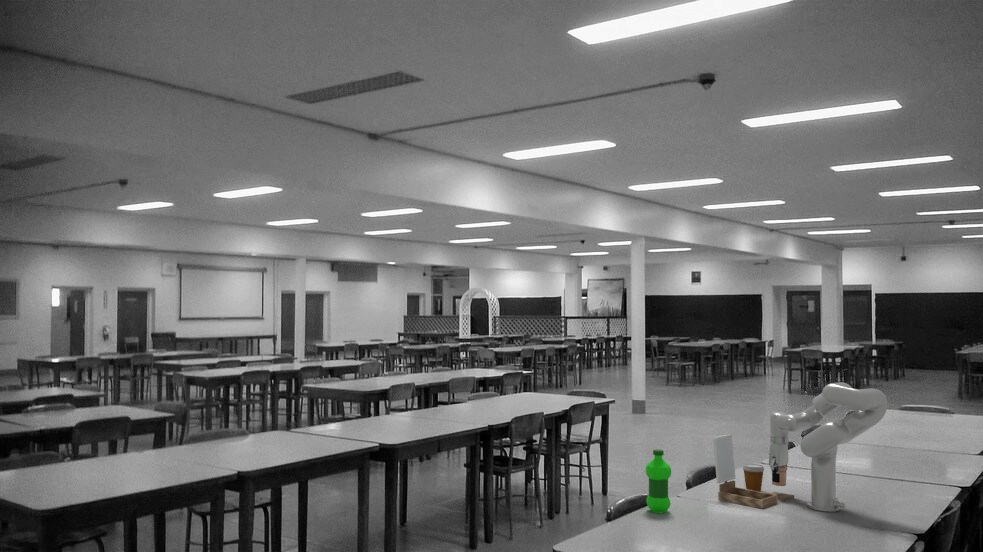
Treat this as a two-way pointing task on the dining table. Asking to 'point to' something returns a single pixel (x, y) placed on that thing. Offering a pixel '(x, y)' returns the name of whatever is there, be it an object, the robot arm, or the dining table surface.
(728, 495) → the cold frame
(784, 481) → the pot
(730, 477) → the lid
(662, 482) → the plastic bottle
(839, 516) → the dining table surface
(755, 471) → the disposable coffee cup
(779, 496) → the board
